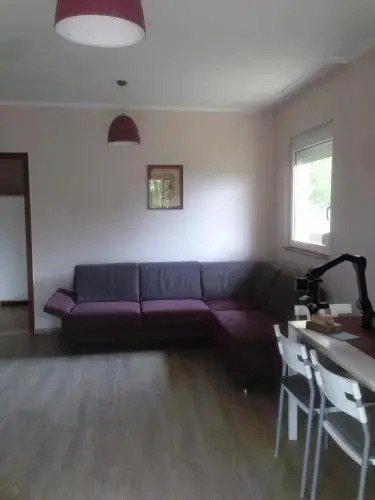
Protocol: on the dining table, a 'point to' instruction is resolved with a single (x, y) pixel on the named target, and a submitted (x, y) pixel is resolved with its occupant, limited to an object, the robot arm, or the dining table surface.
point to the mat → (342, 336)
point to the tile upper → (322, 317)
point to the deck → (324, 327)
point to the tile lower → (322, 322)
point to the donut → (326, 311)
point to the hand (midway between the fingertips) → (312, 318)
